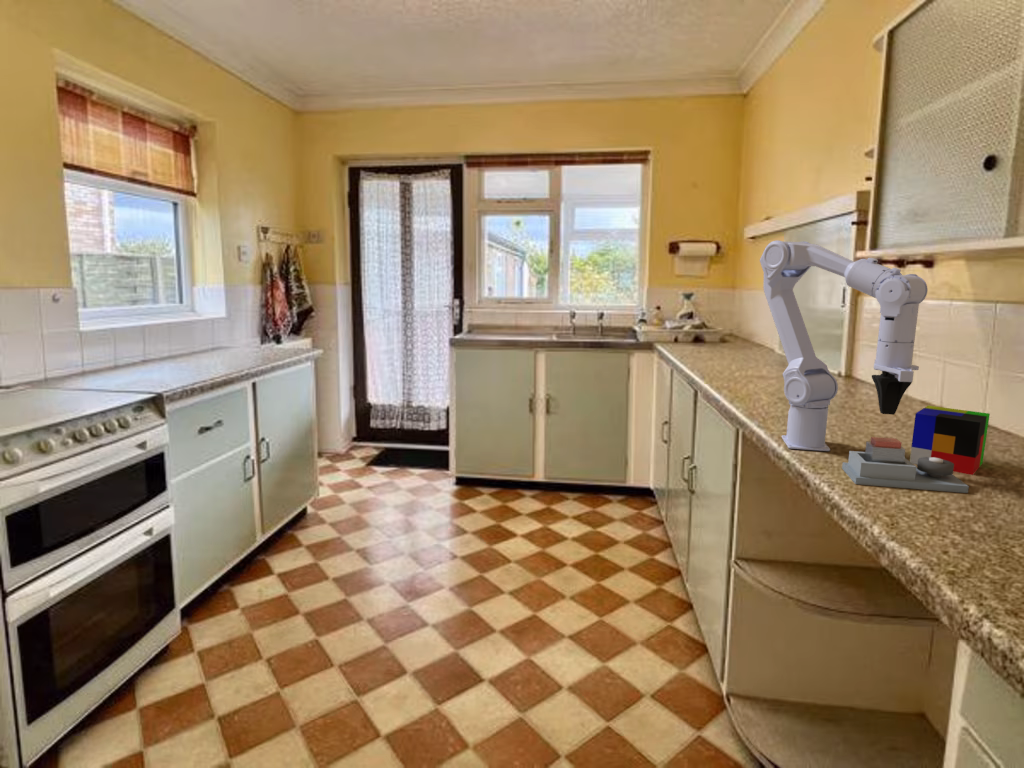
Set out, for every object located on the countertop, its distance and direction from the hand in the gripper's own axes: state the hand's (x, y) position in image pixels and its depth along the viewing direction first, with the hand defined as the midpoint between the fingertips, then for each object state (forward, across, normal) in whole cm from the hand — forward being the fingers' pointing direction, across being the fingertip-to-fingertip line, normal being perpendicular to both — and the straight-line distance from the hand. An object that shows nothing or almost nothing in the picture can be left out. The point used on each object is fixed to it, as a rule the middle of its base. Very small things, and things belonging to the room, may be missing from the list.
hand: (887, 413), depth 114 cm
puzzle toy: (+11, +6, -13) cm, 18 cm away
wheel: (+8, -7, -6) cm, 13 cm away
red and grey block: (+9, -8, +2) cm, 12 cm away
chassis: (+10, -8, -1) cm, 13 cm away
